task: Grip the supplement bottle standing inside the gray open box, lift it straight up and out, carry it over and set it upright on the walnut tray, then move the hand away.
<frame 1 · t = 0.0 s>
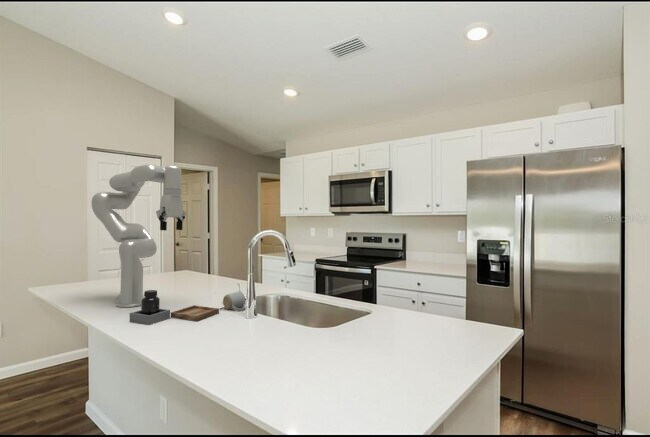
hand: (171, 230, 164), 37 cm above the counter, tool pointing down, fingers open, 9 cm apart
walnut tray: (195, 315, 155), on the counter
gray open box: (150, 319, 147), on the counter
ceramic mug: (235, 309, 167), on the counter
supplement bottle: (150, 320, 147), resting in gray open box
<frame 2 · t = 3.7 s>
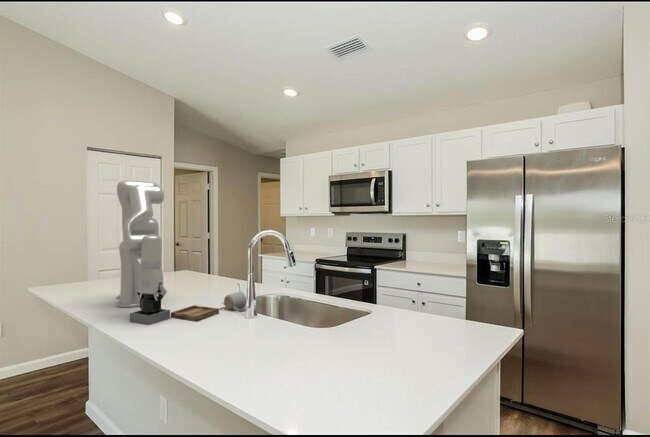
hand: (150, 308, 147), 5 cm above the counter, tool pointing down, fingers closed on supplement bottle, 6 cm apart
supplement bottle: (150, 320, 147), resting in gray open box, touching gripper
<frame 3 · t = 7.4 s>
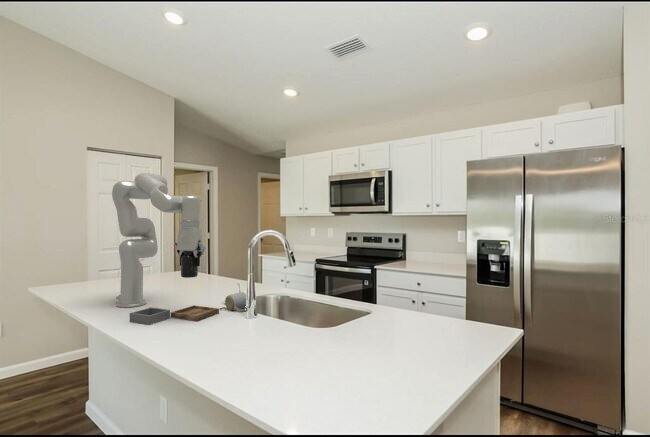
hand: (189, 265, 153), 22 cm above the counter, tool pointing down, fingers closed on supplement bottle, 6 cm apart
supplement bottle: (189, 277, 153), point 17 cm above the counter, touching gripper
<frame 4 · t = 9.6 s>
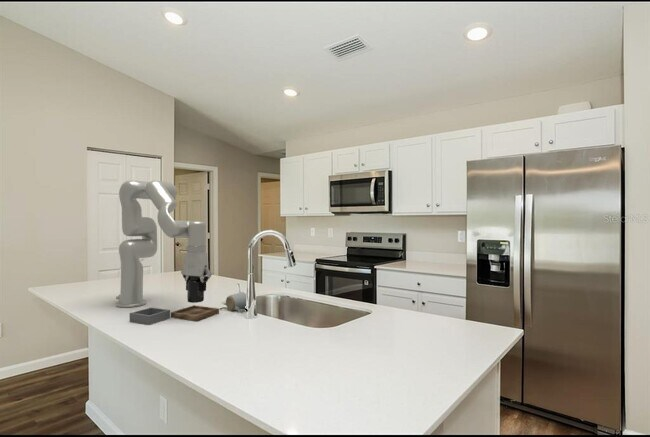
hand: (196, 290, 155), 11 cm above the counter, tool pointing down, fingers closed on supplement bottle, 6 cm apart
supplement bottle: (195, 301, 155), point 6 cm above the counter, touching gripper
when the fingers open (7 cm above the counter, at t = 11.3 s): supplement bottle drops 1 cm, resting on walnut tray.
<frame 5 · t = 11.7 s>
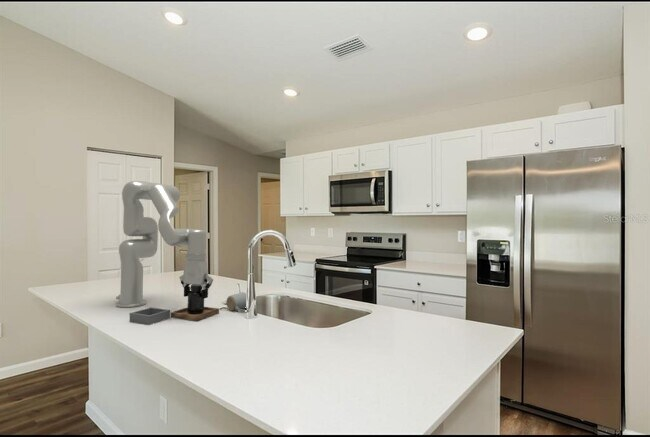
hand: (195, 297, 155), 8 cm above the counter, tool pointing down, fingers open, 9 cm apart
supplement bottle: (195, 313, 155), point 1 cm above the counter, touching walnut tray
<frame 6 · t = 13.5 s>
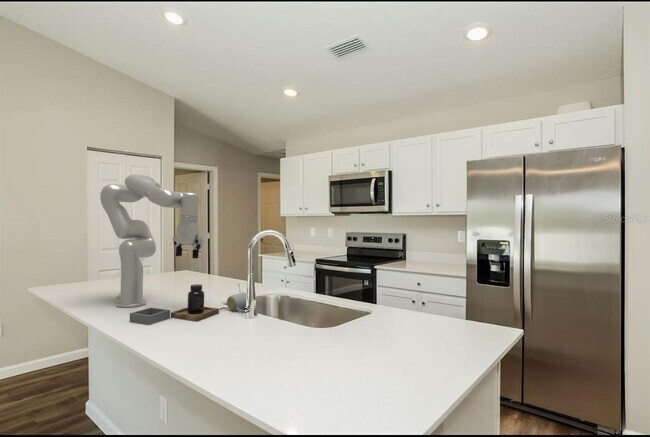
hand: (186, 257, 162), 25 cm above the counter, tool pointing down, fingers open, 9 cm apart
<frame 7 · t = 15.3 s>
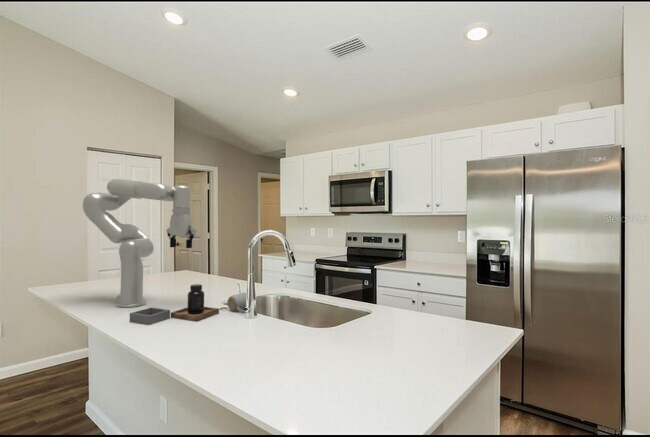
hand: (180, 247, 169), 28 cm above the counter, tool pointing down, fingers open, 9 cm apart
at the end: supplement bottle inside the target area on the walnut tray (0.1 cm from its centre), point 1.0 cm above the walnut tray's base; supplement bottle tilted 0°; the gripper is holding nothing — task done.
